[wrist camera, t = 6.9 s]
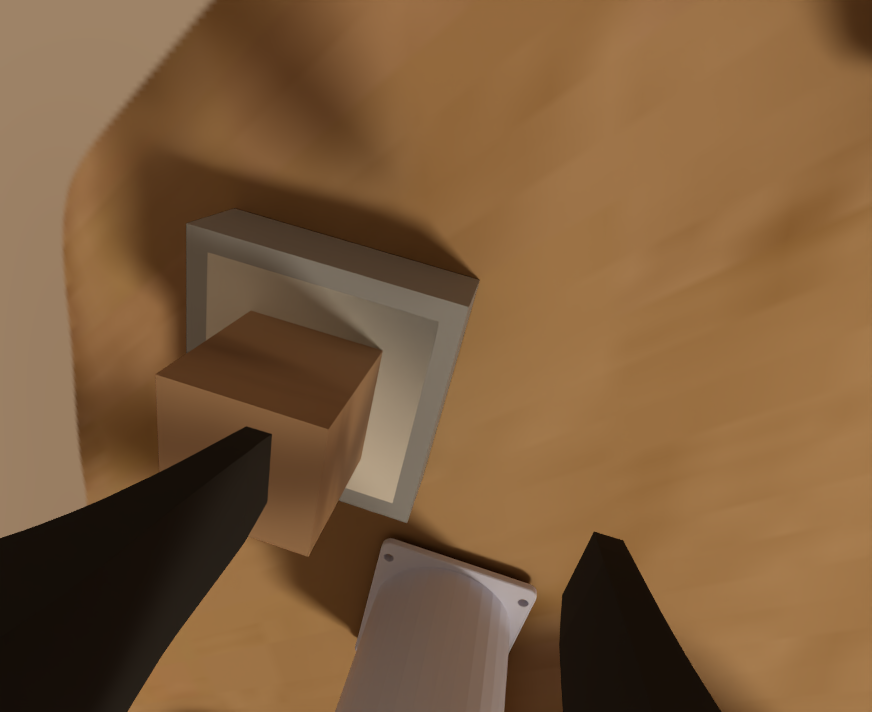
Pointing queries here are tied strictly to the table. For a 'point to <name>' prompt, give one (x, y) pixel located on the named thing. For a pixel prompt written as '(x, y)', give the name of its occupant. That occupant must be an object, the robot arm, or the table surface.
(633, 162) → the table surface
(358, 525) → the table surface
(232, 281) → the grey plinth
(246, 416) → the walnut cube
